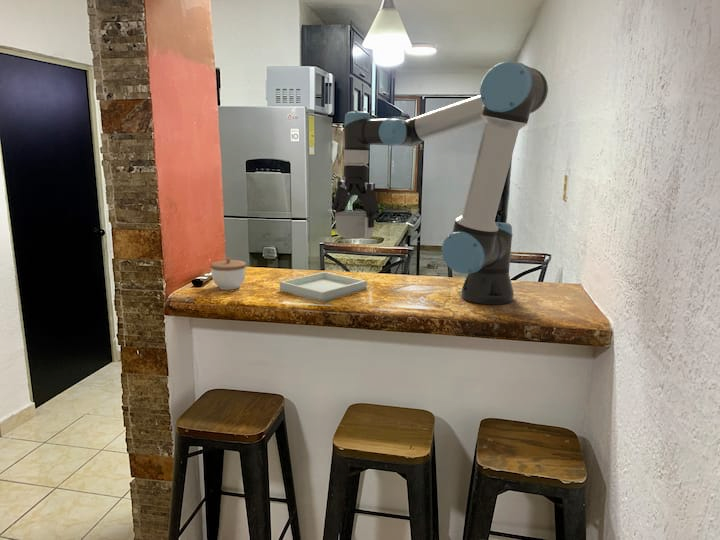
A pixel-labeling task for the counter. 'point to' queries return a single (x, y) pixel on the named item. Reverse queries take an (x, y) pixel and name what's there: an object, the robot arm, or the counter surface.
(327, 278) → the tray
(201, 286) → the counter surface
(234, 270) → the lidded jar
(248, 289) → the counter surface
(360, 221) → the teacup
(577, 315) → the counter surface
